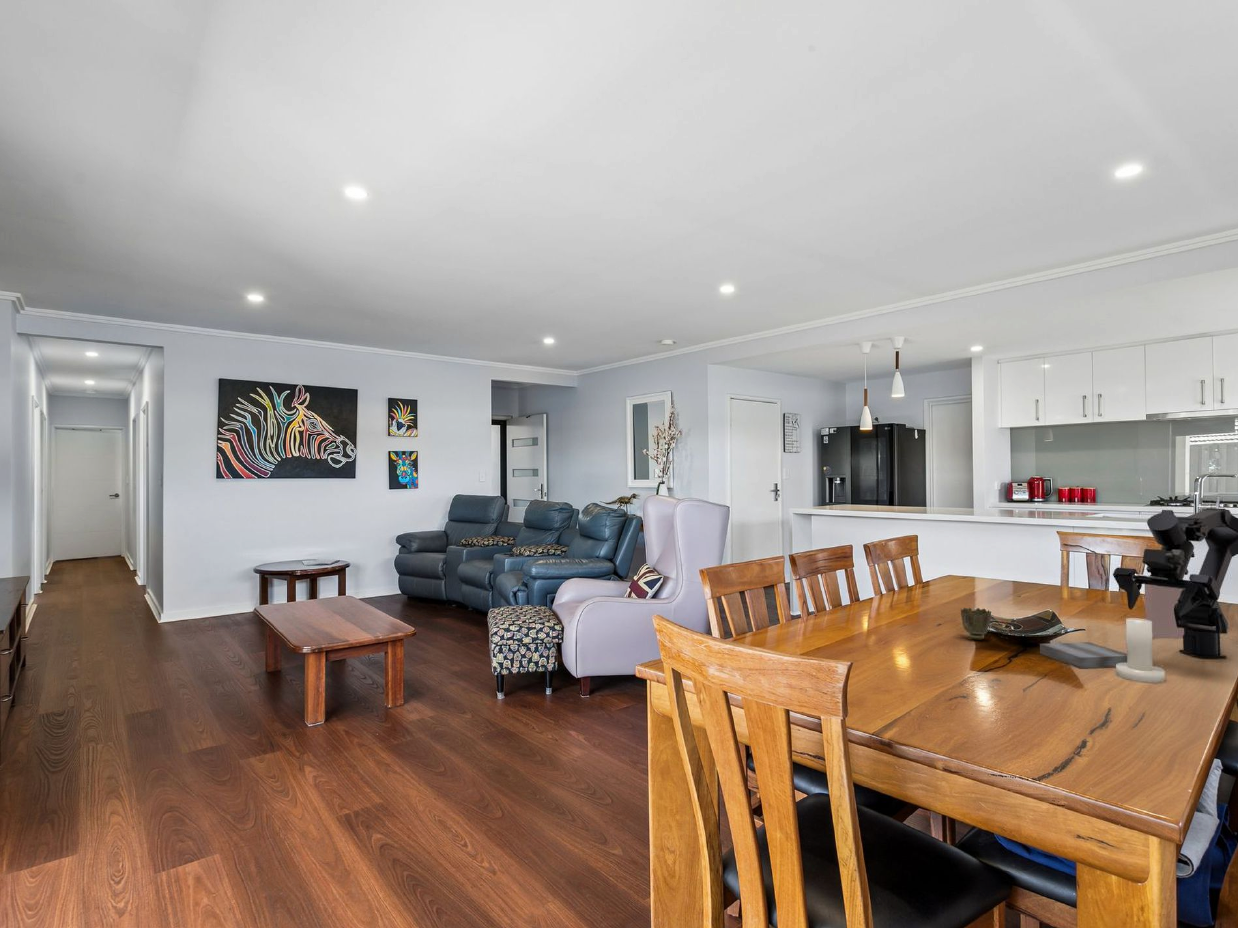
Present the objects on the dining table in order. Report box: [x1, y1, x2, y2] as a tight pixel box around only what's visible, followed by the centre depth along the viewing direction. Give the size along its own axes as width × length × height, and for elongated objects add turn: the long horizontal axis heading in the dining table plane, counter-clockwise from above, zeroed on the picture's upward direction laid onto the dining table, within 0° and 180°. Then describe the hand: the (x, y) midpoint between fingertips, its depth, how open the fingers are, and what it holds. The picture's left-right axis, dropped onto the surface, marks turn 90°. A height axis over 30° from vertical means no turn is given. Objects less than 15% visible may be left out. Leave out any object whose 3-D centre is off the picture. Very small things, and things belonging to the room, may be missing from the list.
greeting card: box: [1144, 584, 1184, 639], centre depth 182 cm, size 11×7×15 cm, turn 46°
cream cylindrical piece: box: [1115, 617, 1166, 684], centre depth 147 cm, size 8×8×12 cm
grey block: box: [1039, 641, 1127, 669], centre depth 161 cm, size 13×13×2 cm
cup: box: [960, 607, 992, 641], centre depth 182 cm, size 8×7×8 cm
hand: (1153, 611), depth 151 cm, fingers open, 9 cm apart
